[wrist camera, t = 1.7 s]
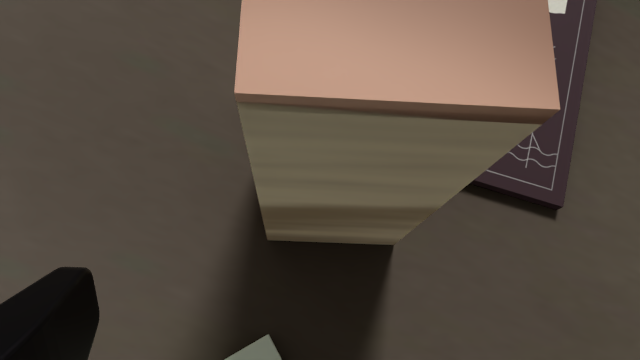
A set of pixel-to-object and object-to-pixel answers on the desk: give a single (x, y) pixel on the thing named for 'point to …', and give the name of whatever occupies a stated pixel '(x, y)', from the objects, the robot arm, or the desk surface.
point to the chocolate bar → (558, 131)
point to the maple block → (384, 106)
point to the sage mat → (258, 351)
